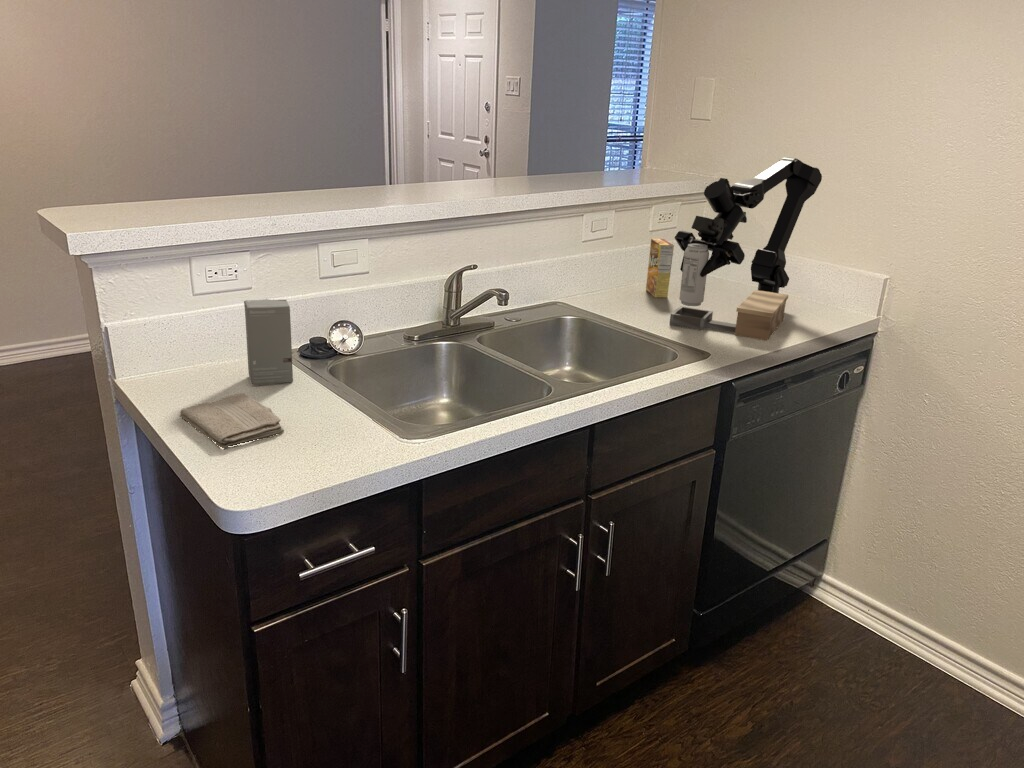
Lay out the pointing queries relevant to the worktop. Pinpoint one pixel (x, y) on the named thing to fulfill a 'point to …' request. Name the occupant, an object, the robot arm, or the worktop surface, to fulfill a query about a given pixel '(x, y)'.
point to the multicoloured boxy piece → (739, 316)
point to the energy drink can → (693, 274)
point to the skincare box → (268, 341)
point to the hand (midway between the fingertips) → (691, 273)
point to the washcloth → (233, 420)
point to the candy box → (659, 267)
